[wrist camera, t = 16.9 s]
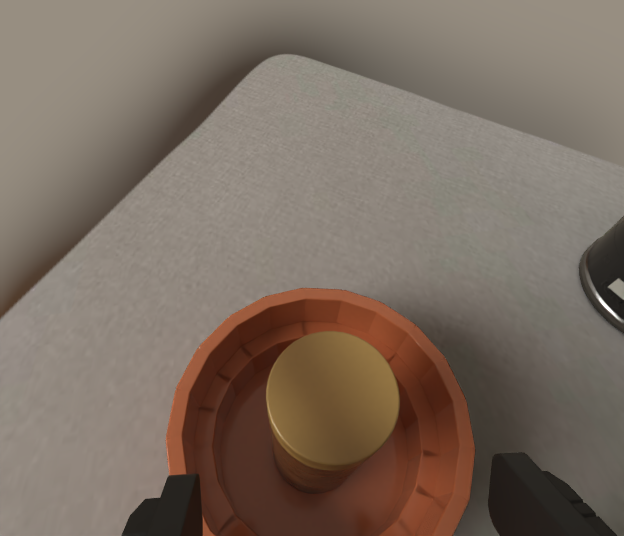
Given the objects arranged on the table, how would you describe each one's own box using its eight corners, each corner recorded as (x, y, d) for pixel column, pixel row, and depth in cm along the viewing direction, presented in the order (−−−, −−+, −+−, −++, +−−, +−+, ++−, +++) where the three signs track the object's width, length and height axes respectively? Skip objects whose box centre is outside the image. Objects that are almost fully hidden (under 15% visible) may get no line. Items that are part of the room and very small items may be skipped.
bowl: (337, 300, 29) (349, 248, 24) (482, 478, 23) (538, 461, 18) (151, 411, 24) (117, 377, 19) (276, 671, 18) (275, 718, 13)
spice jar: (324, 387, 25) (345, 308, 16) (374, 458, 23) (428, 410, 14) (255, 434, 23) (240, 373, 15) (303, 515, 21) (317, 498, 13)
